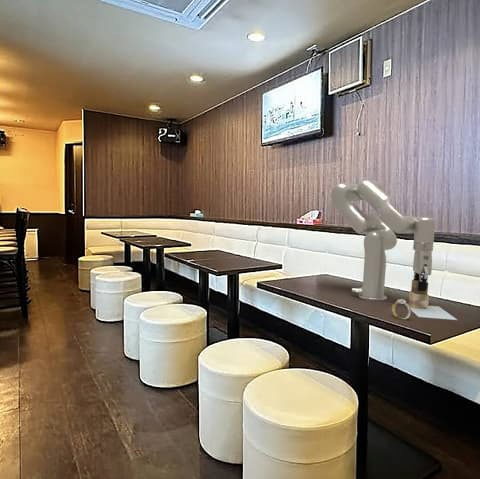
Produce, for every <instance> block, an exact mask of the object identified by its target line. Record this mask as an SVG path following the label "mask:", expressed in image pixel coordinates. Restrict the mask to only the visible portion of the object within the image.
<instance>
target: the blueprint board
mask: <svg viewBox="0 0 480 479" xmlns="http://www.w3.org/2000/svg"><path fill="white" fill-rule="evenodd" d="M410 307H411V306H410ZM411 312H413V313H414V314H415V316H417V317H418V318H428V319H440V320H453V321H458V319H457V318H456V317H454V316H453V315H452V314H450V313H449V312H447V311H446V310H444V309H443V308H441V307H440V306H438V305H437V306H436V305H428V309H417V308H412V307H411Z"/></svg>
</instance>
